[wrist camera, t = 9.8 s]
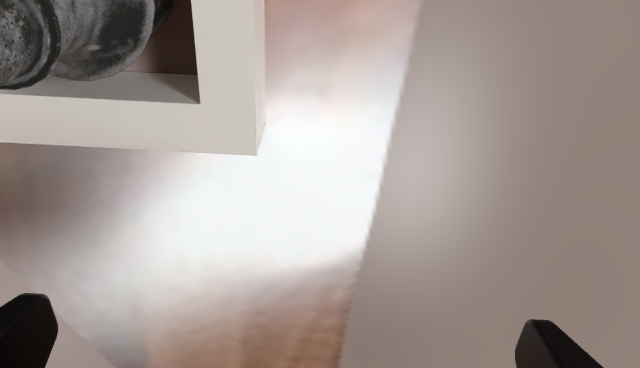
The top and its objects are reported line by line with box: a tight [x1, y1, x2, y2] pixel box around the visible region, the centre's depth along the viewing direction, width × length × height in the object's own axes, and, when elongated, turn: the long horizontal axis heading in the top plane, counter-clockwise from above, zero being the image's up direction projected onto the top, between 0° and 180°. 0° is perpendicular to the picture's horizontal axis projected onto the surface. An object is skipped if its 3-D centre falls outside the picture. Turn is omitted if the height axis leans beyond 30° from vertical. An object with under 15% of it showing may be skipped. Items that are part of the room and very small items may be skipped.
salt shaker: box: [0, 0, 174, 90], centre depth 13 cm, size 6×6×12 cm
